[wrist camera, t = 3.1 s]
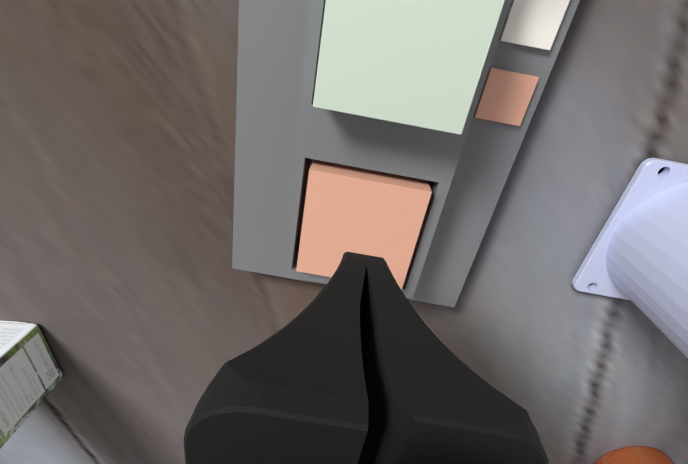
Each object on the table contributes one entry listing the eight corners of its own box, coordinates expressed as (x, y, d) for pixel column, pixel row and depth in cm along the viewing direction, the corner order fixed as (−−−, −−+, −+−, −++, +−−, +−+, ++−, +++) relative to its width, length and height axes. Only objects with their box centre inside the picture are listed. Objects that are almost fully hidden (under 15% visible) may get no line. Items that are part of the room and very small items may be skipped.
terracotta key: (424, 172, 17) (431, 192, 15) (398, 261, 20) (401, 289, 18) (317, 152, 17) (309, 169, 15) (304, 244, 20) (296, 271, 18)
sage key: (494, -37, 12) (521, -52, 10) (447, 119, 15) (461, 134, 13) (342, -67, 12) (336, -89, 10) (321, 95, 15) (312, 106, 12)
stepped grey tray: (738, -449, 10) (898, -660, 7) (449, 291, 23) (461, 332, 19) (271, -557, 10) (225, -829, 7) (240, 254, 22) (219, 289, 19)
